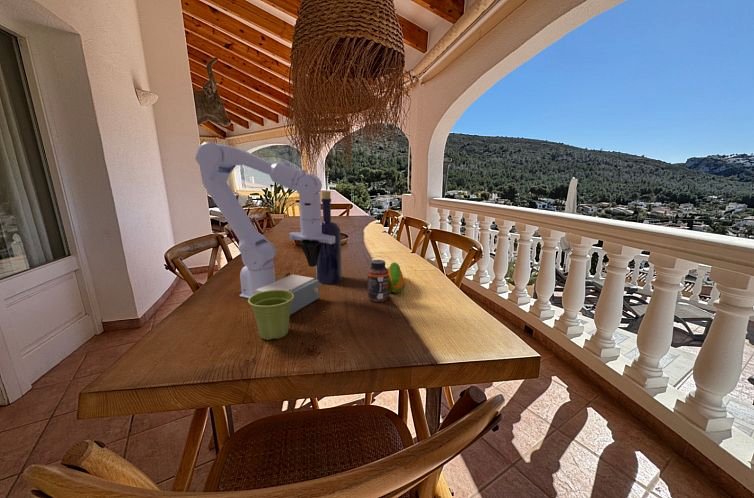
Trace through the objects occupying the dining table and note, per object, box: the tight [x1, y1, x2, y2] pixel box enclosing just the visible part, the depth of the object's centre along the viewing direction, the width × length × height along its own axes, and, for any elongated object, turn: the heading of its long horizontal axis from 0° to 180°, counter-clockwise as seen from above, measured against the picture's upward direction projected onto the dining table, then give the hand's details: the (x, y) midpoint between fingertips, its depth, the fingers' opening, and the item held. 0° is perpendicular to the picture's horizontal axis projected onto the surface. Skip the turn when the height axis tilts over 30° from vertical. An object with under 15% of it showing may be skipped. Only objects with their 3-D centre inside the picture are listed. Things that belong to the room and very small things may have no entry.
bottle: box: [315, 190, 343, 285], centre depth 98 cm, size 9×9×30 cm
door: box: [290, 278, 320, 316], centre depth 78 cm, size 2×15×5 cm, turn 155°
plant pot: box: [247, 290, 294, 341], centre depth 65 cm, size 9×9×9 cm
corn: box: [387, 262, 405, 294], centre depth 95 cm, size 7×8×20 cm
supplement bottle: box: [367, 259, 389, 303], centre depth 84 cm, size 6×6×11 cm
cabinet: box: [256, 274, 315, 294], centre depth 81 cm, size 8×14×6 cm, turn 156°
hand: (312, 265), depth 85 cm, fingers closed
